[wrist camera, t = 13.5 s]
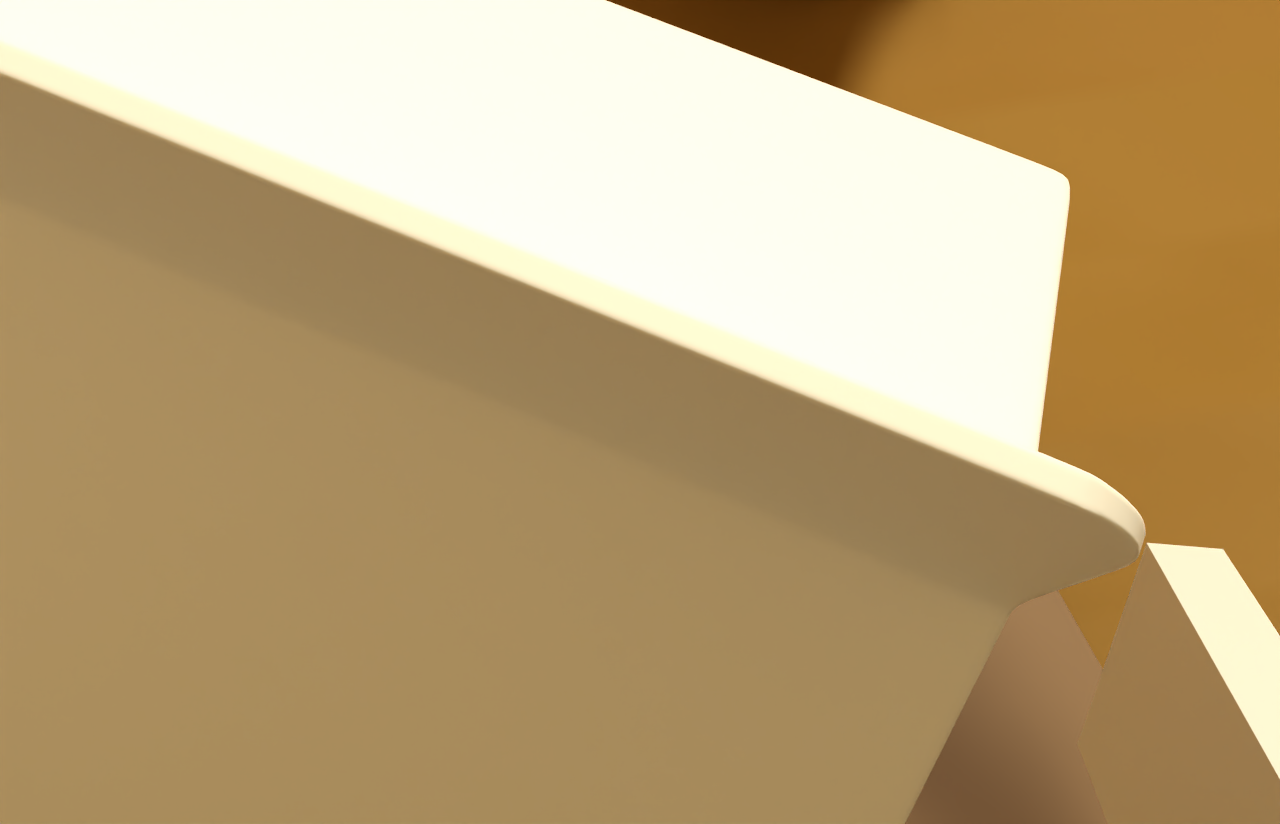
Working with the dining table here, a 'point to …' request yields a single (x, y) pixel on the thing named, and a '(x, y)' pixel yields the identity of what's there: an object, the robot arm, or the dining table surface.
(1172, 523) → the dining table surface
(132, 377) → the milk
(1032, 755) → the tan board
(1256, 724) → the robot arm
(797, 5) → the dining table surface
